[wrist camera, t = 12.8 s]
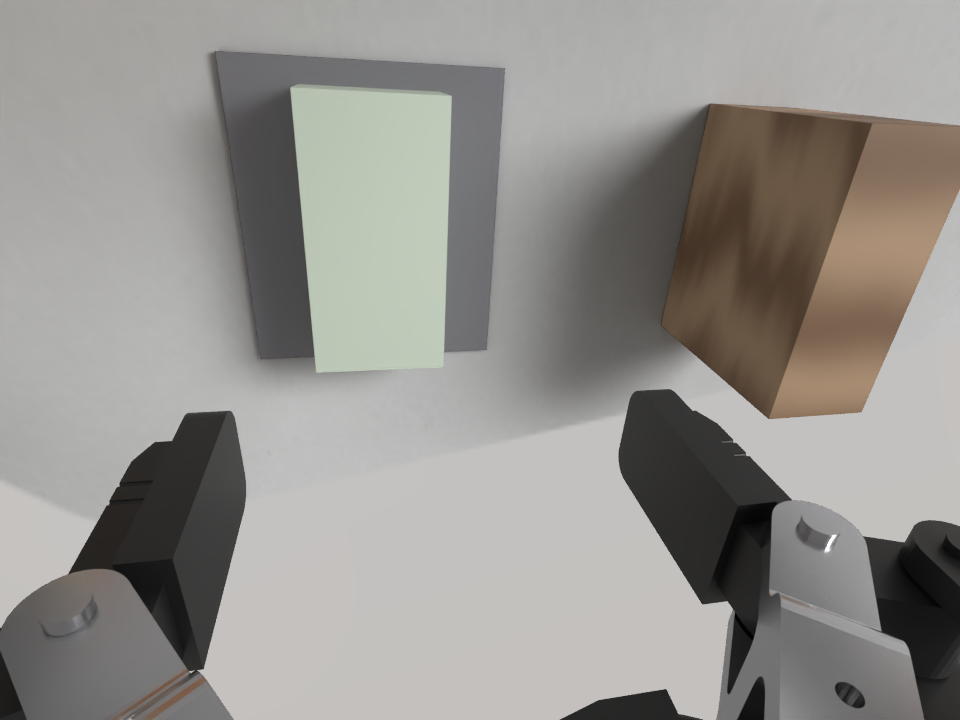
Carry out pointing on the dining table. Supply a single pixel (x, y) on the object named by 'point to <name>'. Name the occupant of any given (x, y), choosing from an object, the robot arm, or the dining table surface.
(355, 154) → the pale green block
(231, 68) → the mat
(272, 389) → the dining table surface
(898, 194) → the box
